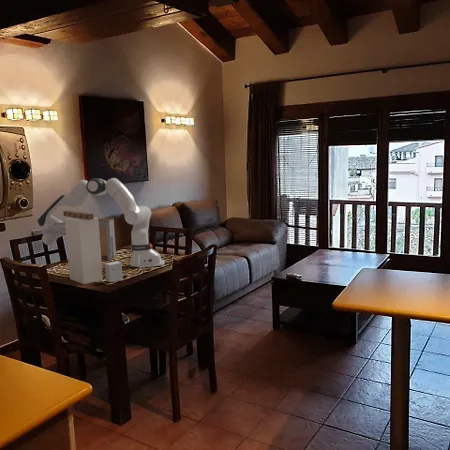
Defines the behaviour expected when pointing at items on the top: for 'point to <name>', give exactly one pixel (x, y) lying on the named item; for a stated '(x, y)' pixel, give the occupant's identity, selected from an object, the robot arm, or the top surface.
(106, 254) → the cabinet
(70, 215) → the walnut bar
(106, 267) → the small box
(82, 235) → the off-white pedestal
